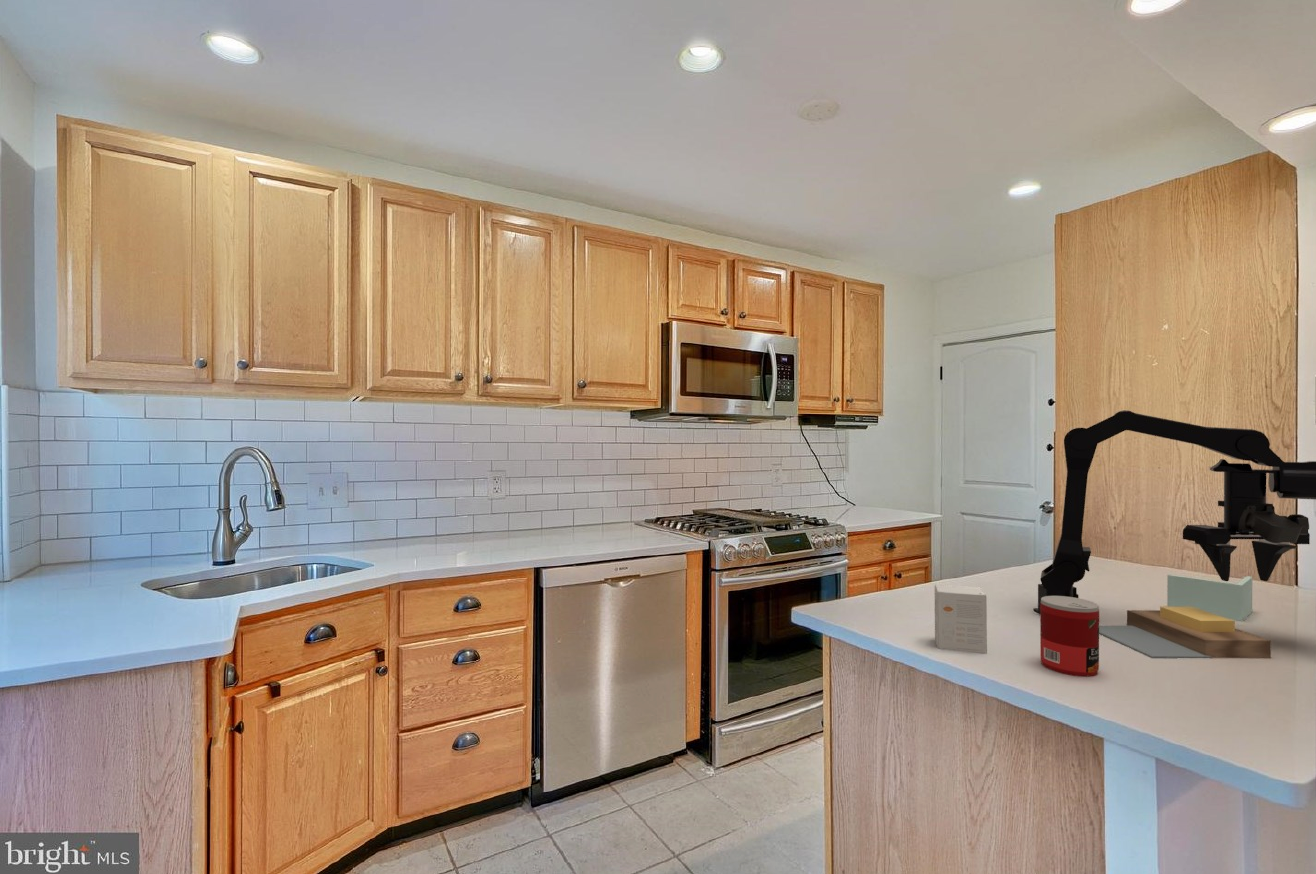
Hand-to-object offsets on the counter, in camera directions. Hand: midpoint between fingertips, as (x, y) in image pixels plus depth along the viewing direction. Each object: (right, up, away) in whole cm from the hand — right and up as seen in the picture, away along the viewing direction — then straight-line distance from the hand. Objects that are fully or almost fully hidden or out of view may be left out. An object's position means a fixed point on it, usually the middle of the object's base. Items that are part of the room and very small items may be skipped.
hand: (1244, 580), depth 115 cm
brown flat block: (-10, -11, 0) cm, 15 cm away
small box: (-55, -11, -4) cm, 56 cm away
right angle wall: (+11, -11, +20) cm, 26 cm away
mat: (-20, -11, -1) cm, 22 cm away
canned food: (-42, -11, -14) cm, 45 cm away
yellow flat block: (-9, -8, 0) cm, 12 cm away
